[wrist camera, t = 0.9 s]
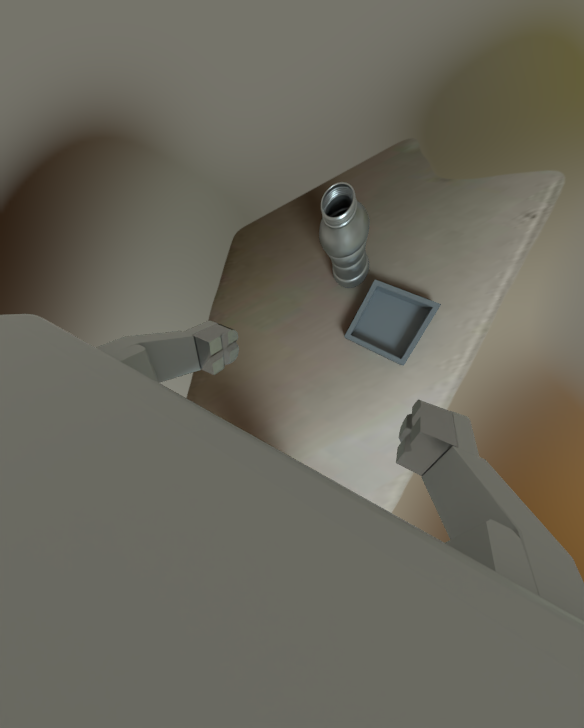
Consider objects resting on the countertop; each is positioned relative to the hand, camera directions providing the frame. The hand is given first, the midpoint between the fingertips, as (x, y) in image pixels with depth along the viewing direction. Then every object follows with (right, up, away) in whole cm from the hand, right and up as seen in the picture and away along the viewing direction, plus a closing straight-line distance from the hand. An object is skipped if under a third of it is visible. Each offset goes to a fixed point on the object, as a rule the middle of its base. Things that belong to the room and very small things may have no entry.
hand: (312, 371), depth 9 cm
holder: (+17, +8, +30) cm, 35 cm away
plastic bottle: (+11, +18, +32) cm, 38 cm away
